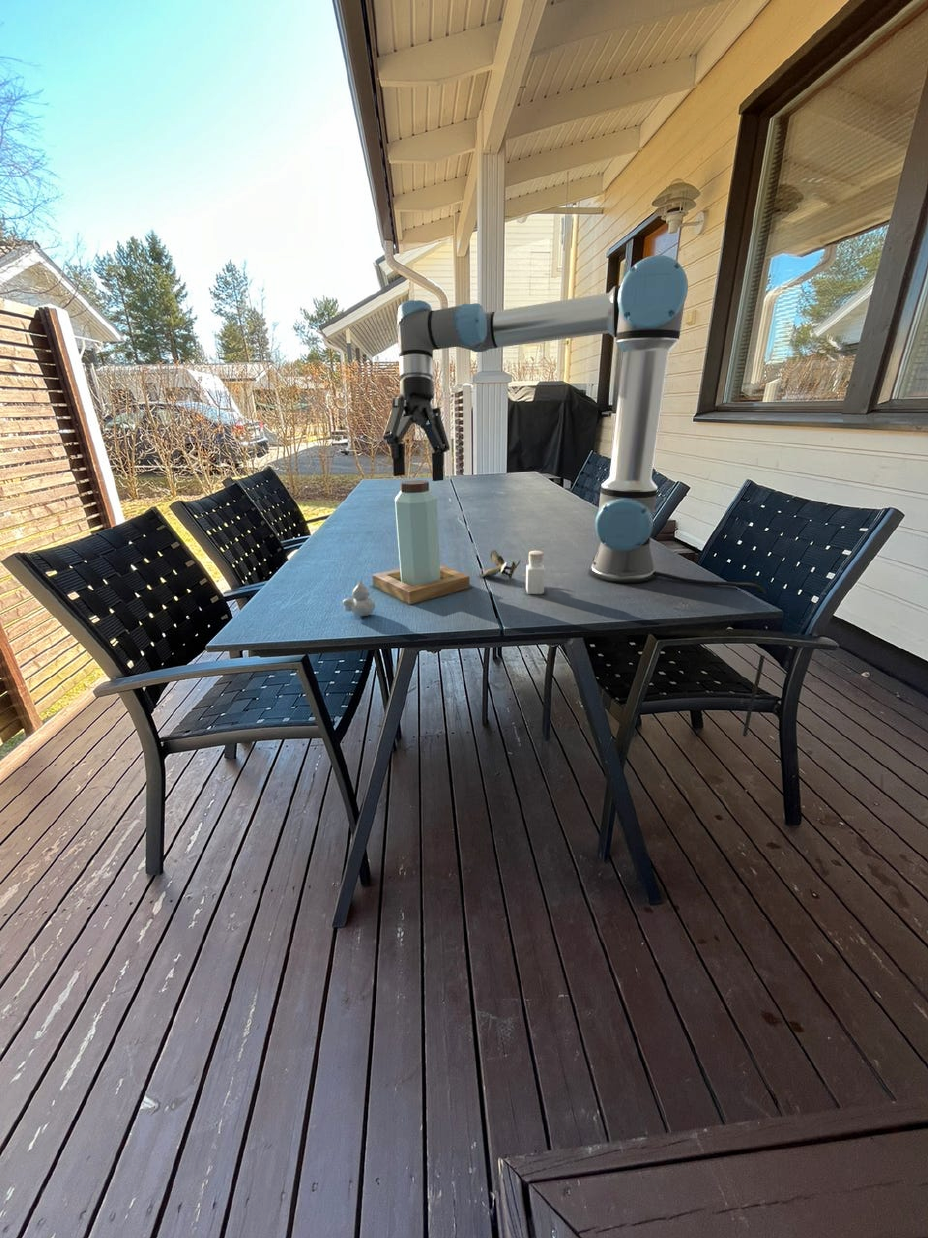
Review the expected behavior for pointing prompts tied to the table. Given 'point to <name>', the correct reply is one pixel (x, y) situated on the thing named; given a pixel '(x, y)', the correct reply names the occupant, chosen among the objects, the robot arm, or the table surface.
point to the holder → (410, 595)
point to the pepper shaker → (535, 573)
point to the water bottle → (417, 533)
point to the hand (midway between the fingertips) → (419, 478)
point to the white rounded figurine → (360, 601)
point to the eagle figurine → (500, 566)
